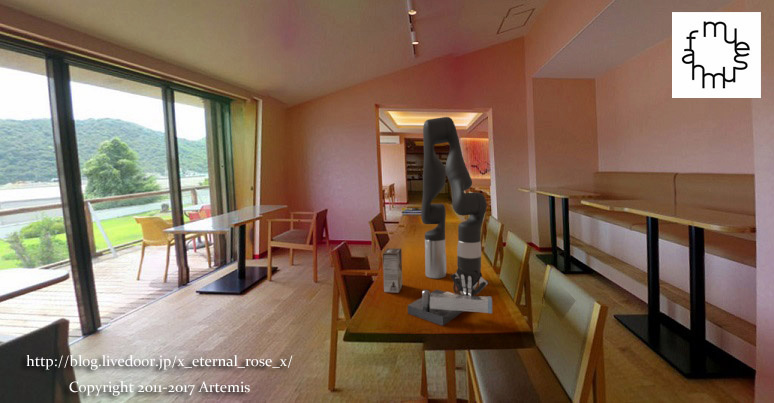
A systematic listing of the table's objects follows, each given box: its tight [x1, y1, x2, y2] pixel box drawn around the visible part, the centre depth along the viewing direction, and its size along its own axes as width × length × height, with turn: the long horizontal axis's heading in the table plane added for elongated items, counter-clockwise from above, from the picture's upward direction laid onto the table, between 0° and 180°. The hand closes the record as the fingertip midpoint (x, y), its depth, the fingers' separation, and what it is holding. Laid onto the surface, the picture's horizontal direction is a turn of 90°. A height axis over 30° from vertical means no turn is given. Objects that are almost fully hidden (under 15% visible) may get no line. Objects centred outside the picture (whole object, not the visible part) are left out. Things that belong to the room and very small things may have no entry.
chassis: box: [407, 289, 464, 327], centre depth 112 cm, size 18×14×9 cm
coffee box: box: [382, 247, 403, 294], centre depth 134 cm, size 9×6×16 cm
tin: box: [452, 281, 479, 295], centre depth 128 cm, size 15×3×8 cm, turn 133°
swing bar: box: [430, 292, 493, 314], centre depth 104 cm, size 19×3×4 cm, turn 77°
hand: (468, 304), depth 107 cm, fingers closed
